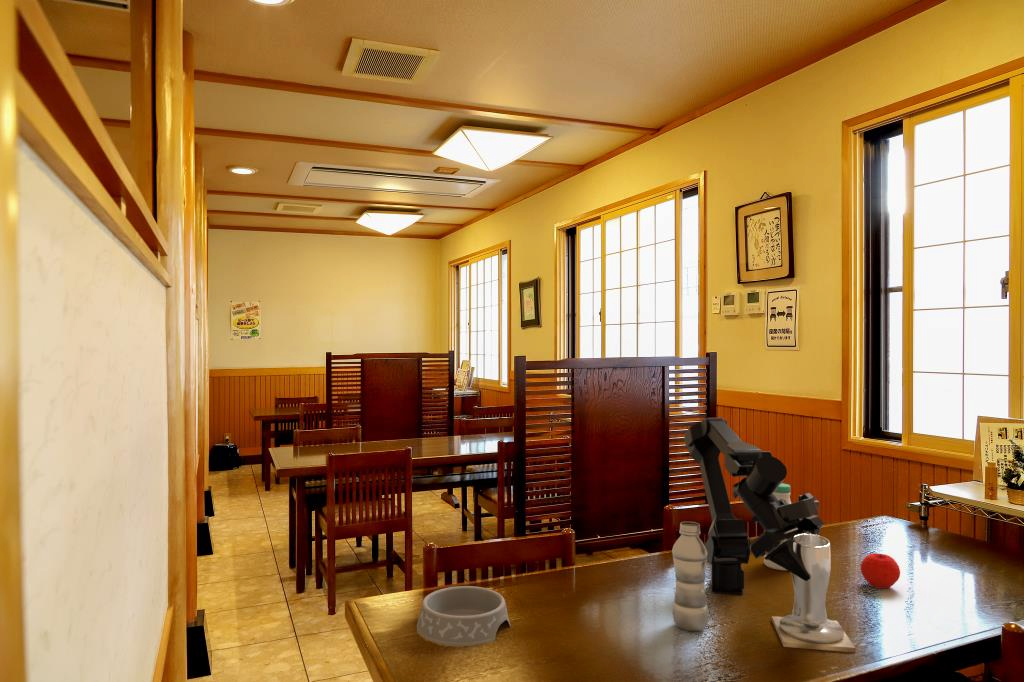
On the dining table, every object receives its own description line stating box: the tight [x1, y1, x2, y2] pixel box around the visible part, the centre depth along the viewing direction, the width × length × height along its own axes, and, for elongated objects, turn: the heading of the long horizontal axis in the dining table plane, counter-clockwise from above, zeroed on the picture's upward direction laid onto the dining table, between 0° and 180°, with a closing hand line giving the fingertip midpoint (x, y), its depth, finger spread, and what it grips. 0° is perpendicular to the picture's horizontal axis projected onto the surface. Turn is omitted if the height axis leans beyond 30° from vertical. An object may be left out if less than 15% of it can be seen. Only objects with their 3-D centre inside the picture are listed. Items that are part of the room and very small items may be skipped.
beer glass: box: [790, 534, 832, 625], centre depth 128 cm, size 7×7×15 cm
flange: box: [780, 614, 845, 644], centre depth 128 cm, size 11×11×1 cm
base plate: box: [771, 615, 856, 653], centre depth 128 cm, size 12×12×1 cm
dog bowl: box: [416, 585, 511, 648], centre depth 133 cm, size 17×18×5 cm
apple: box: [860, 553, 901, 589], centre depth 153 cm, size 8×8×7 cm
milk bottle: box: [763, 482, 792, 571], centre depth 168 cm, size 8×8×20 cm
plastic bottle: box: [671, 521, 710, 632], centre depth 131 cm, size 6×7×20 cm
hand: (817, 575), depth 127 cm, fingers closed on beer glass, 7 cm apart
